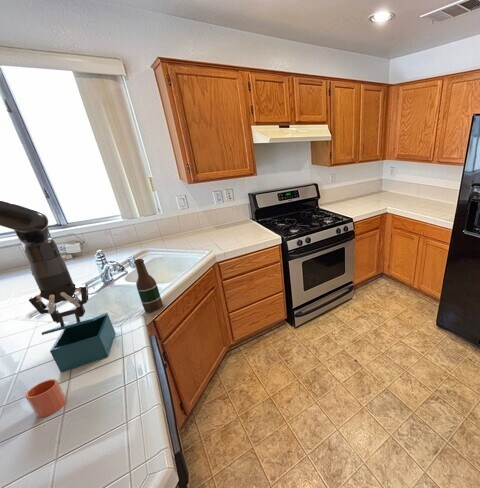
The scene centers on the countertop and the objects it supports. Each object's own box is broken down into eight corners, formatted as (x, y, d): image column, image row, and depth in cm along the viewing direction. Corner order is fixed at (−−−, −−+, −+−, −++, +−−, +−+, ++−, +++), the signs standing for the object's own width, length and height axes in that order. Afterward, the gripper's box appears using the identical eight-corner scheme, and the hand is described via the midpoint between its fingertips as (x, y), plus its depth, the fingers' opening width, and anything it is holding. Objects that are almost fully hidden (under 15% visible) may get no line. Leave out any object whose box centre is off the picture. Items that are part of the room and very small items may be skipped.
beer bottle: (167, 304, 123) (152, 257, 115) (150, 313, 116) (134, 264, 108) (156, 301, 126) (142, 255, 118) (140, 310, 119) (123, 262, 112)
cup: (32, 421, 69) (21, 401, 67) (41, 404, 74) (31, 385, 72) (62, 410, 72) (52, 390, 70) (69, 394, 77) (60, 375, 75)
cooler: (108, 356, 91) (99, 336, 89) (60, 372, 86) (49, 351, 83) (115, 333, 104) (108, 314, 101) (74, 345, 99) (65, 325, 96)
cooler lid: (93, 320, 87) (89, 305, 87) (41, 335, 81) (37, 318, 81) (107, 314, 101) (104, 300, 101) (65, 325, 96) (61, 311, 96)
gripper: (83, 262, 88) (100, 306, 93) (24, 273, 81) (45, 320, 87) (77, 269, 82) (95, 316, 87) (12, 282, 75) (36, 332, 80)
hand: (70, 318), depth 87 cm, fingers closed on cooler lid, 5 cm apart
